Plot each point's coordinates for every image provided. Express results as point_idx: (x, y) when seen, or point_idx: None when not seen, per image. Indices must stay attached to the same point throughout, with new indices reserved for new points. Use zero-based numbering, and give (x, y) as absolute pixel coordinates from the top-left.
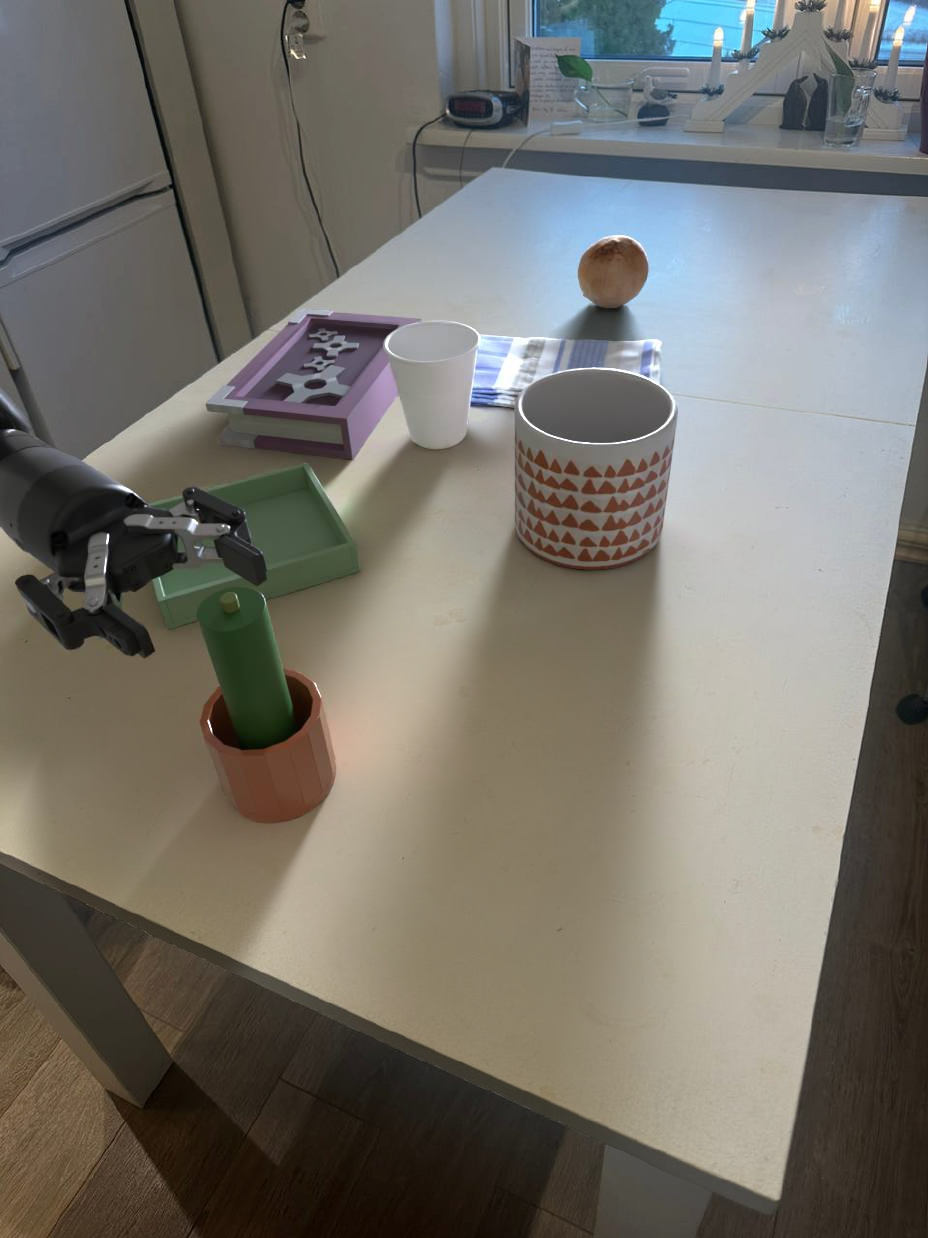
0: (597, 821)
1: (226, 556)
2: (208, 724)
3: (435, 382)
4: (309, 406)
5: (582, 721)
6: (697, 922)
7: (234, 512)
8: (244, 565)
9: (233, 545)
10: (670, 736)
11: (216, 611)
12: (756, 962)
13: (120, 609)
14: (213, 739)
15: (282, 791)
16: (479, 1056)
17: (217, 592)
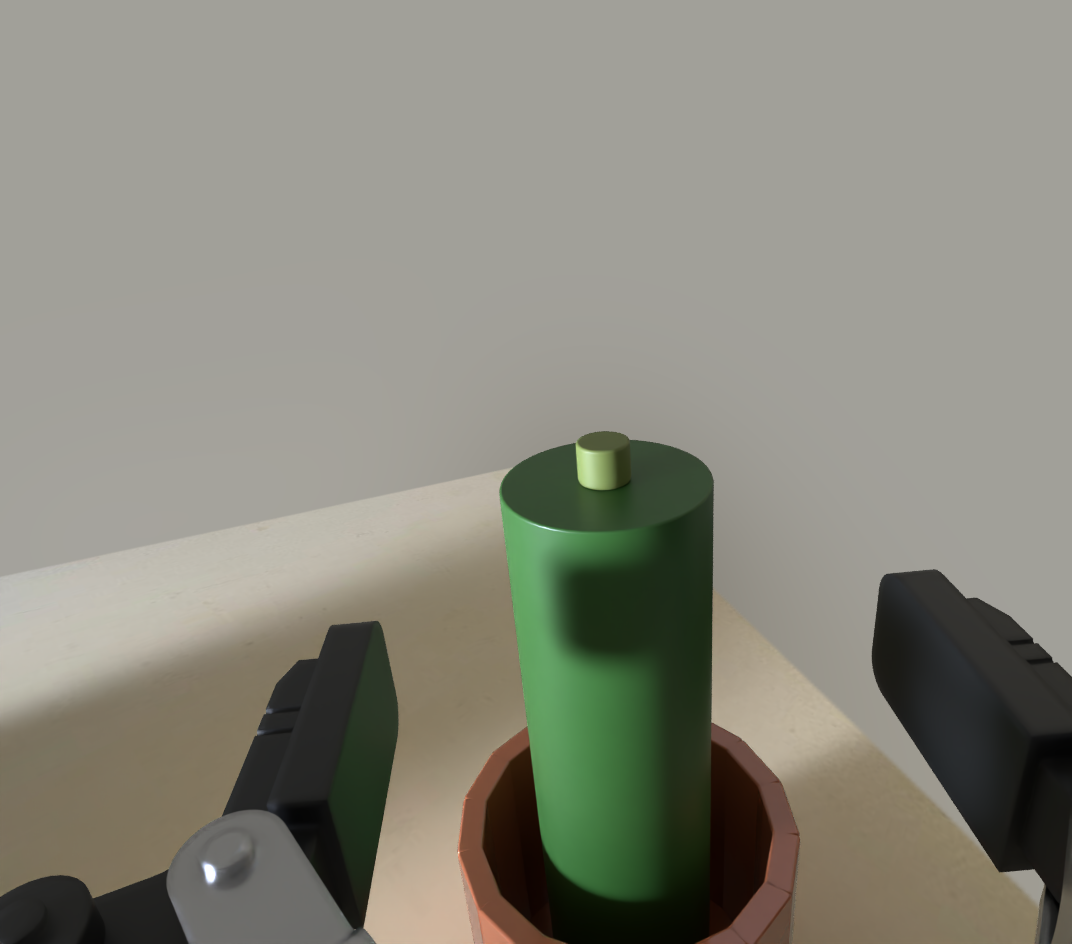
0: (361, 620)
1: (355, 820)
2: (771, 864)
3: None
4: None
5: (188, 713)
6: (421, 533)
7: (30, 917)
8: (376, 702)
9: (326, 716)
10: (177, 638)
11: (646, 488)
12: (428, 504)
13: (982, 672)
14: (778, 816)
15: None
16: None
17: (594, 530)
